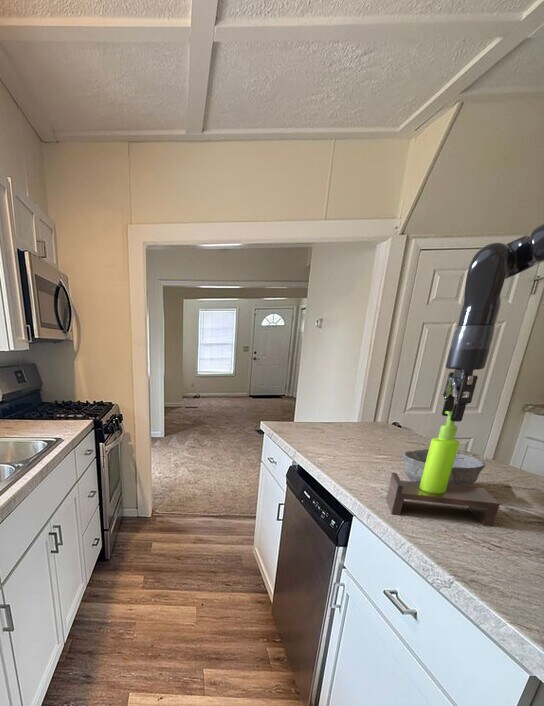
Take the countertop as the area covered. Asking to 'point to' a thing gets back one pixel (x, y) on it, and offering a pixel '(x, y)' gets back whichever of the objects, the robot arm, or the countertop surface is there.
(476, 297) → the robot arm
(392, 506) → the shelf
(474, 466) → the bowl
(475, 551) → the countertop surface
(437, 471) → the soap dispenser
